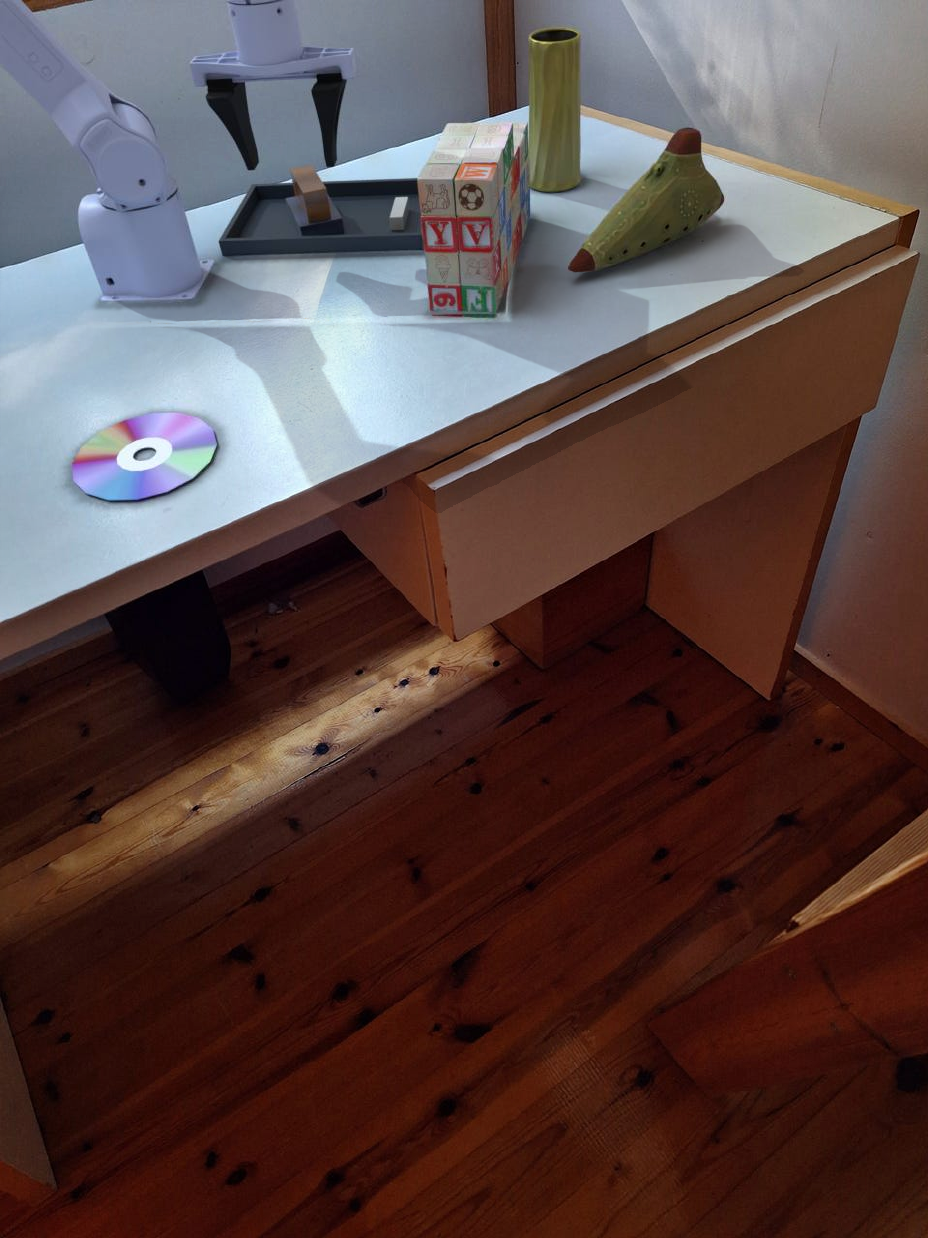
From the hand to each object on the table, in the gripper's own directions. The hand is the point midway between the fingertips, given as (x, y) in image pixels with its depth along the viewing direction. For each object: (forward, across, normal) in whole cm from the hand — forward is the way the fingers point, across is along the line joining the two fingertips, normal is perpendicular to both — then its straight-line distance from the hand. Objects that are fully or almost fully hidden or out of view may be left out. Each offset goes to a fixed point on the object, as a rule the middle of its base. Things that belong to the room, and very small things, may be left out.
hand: (292, 164), depth 86 cm
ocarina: (+9, -34, +2) cm, 35 cm away
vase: (+9, -25, -16) cm, 31 cm away
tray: (+9, -2, -6) cm, 11 cm away
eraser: (+8, 0, -6) cm, 10 cm away
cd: (+9, +7, +34) cm, 36 cm away
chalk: (+8, -9, -6) cm, 13 cm away
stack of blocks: (+9, -18, +3) cm, 20 cm away
